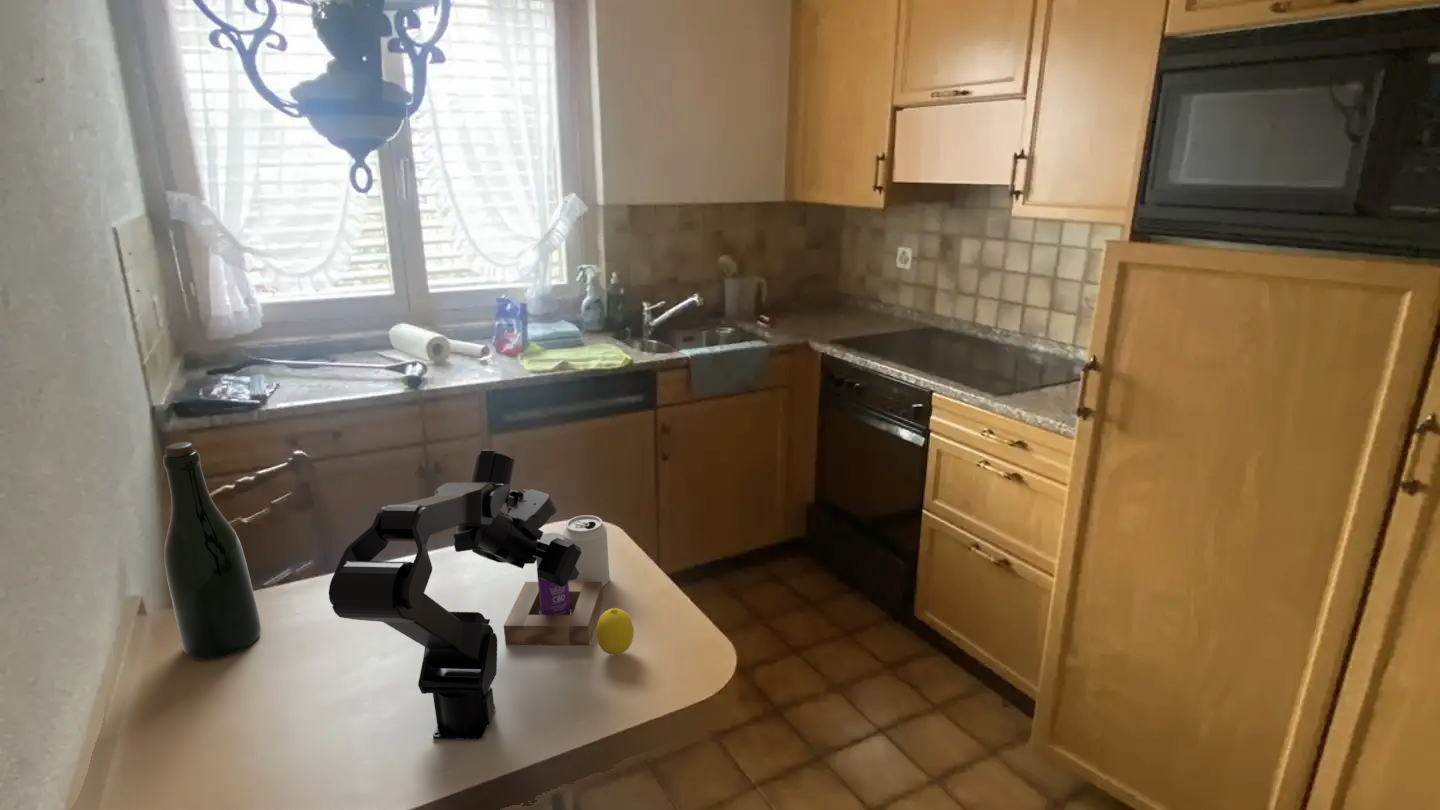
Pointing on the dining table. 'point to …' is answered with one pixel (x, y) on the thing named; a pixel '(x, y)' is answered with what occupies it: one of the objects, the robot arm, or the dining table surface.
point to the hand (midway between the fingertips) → (555, 568)
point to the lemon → (614, 631)
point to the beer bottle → (205, 565)
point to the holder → (554, 617)
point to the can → (589, 548)
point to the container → (552, 588)
